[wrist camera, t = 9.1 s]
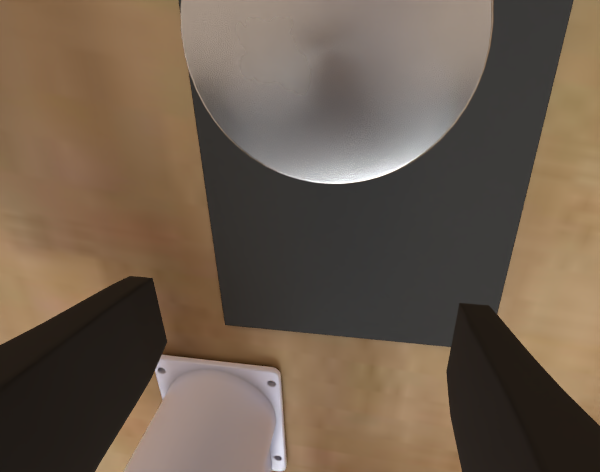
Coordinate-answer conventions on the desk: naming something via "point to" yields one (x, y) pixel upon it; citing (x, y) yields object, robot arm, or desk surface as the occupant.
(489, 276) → the mat
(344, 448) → the desk surface
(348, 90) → the can
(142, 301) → the robot arm
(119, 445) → the desk surface
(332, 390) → the desk surface
